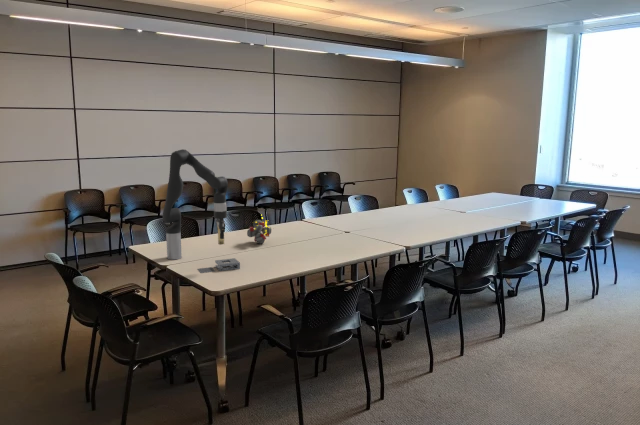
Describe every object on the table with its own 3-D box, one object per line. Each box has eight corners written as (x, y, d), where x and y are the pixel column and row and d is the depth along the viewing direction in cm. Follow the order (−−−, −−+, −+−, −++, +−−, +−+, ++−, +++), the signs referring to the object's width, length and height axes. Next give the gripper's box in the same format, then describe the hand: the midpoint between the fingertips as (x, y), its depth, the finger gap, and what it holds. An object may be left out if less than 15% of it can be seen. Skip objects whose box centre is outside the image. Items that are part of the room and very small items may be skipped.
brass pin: (217, 243, 307) (217, 225, 305) (223, 242, 308) (222, 225, 306) (219, 244, 303) (218, 226, 301) (225, 244, 305) (224, 226, 303)
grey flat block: (215, 267, 313) (215, 260, 312) (234, 264, 318) (234, 258, 317) (219, 271, 303) (219, 264, 302) (240, 269, 308) (239, 262, 308)
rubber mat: (196, 269, 307) (196, 268, 307) (211, 267, 311) (211, 267, 311) (200, 273, 299) (200, 273, 298) (215, 272, 302) (215, 271, 302)
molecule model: (276, 246, 365) (276, 216, 361) (247, 248, 360) (247, 217, 356) (271, 239, 389) (271, 210, 385) (244, 240, 384) (243, 211, 380)
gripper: (211, 208, 307) (212, 236, 310) (216, 212, 294) (217, 240, 297) (223, 207, 310) (224, 235, 313) (229, 211, 297) (230, 239, 300)
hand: (221, 237), depth 305 cm, fingers closed on brass pin, 3 cm apart
